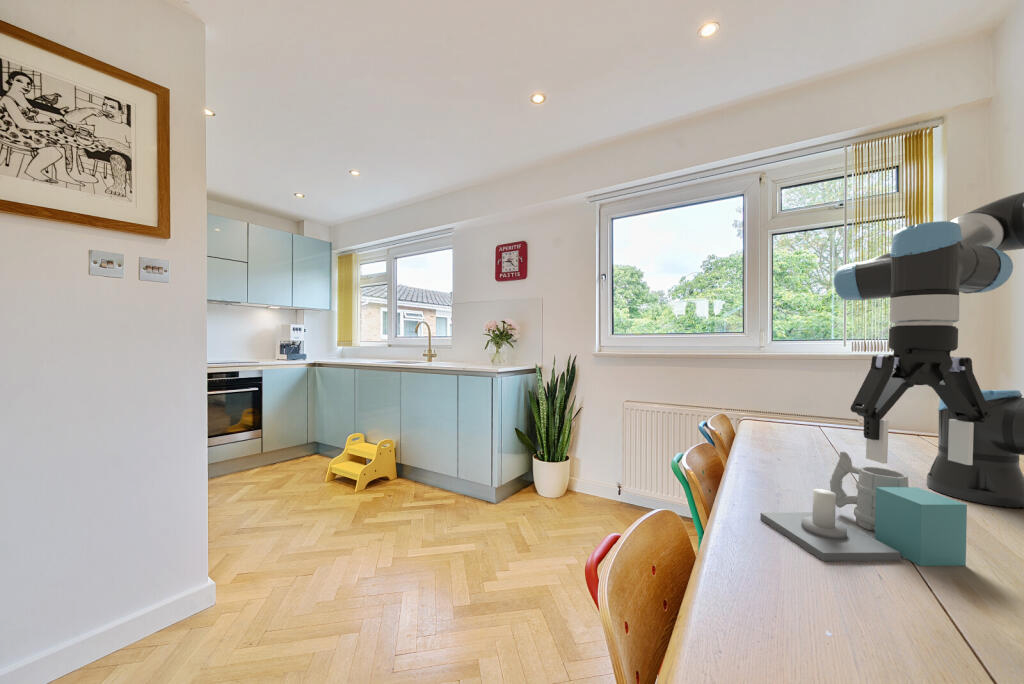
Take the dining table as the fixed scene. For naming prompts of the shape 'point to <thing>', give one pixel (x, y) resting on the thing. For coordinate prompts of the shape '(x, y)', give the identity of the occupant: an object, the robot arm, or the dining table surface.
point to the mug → (863, 488)
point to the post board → (829, 533)
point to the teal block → (921, 525)
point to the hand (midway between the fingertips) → (918, 462)
